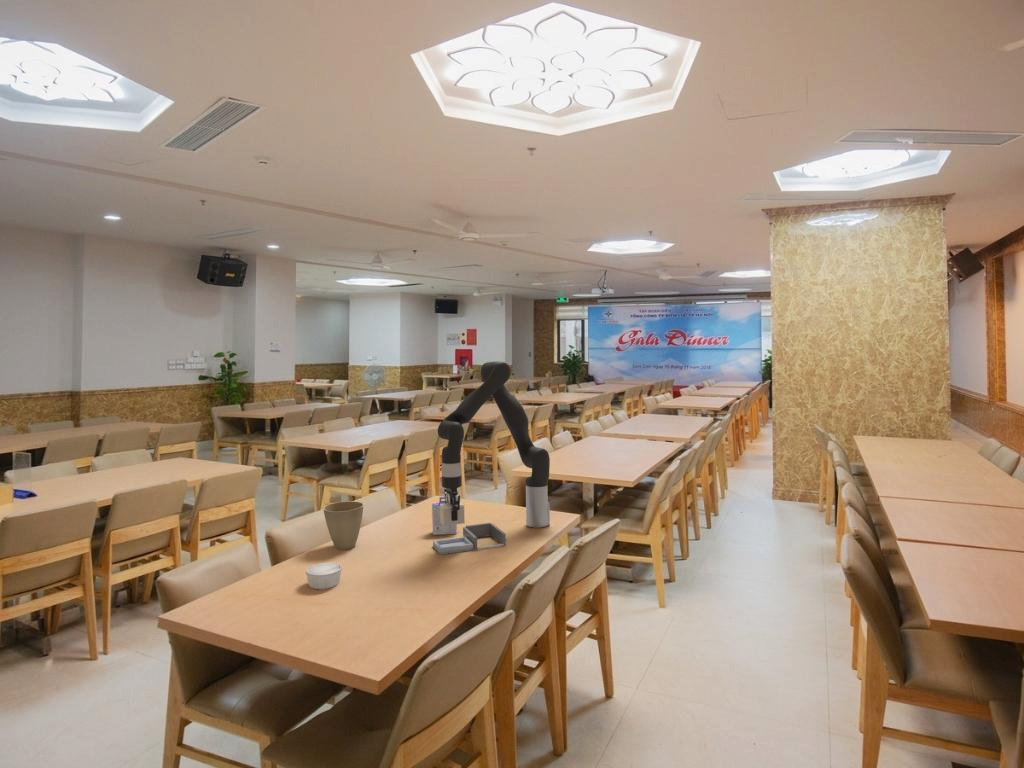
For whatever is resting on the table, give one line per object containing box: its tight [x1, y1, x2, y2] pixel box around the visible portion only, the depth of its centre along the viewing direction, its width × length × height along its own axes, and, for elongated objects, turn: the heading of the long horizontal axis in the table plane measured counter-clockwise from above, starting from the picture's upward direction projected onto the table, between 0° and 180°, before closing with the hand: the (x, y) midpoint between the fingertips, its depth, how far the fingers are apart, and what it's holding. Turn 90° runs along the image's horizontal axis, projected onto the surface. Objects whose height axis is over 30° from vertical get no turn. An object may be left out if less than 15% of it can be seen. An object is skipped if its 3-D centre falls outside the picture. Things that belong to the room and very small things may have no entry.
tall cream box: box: [440, 501, 466, 526], centre depth 222 cm, size 8×5×7 cm, turn 112°
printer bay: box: [462, 522, 507, 551], centre depth 230 cm, size 13×15×5 cm
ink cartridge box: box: [431, 496, 458, 536], centre depth 242 cm, size 10×6×14 cm, turn 98°
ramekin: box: [305, 561, 343, 590], centre depth 191 cm, size 11×11×5 cm
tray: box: [432, 536, 475, 556], centre depth 223 cm, size 13×10×2 cm
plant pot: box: [322, 500, 364, 551], centre depth 226 cm, size 15×15×16 cm
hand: (452, 518), depth 223 cm, fingers closed on tall cream box, 5 cm apart
